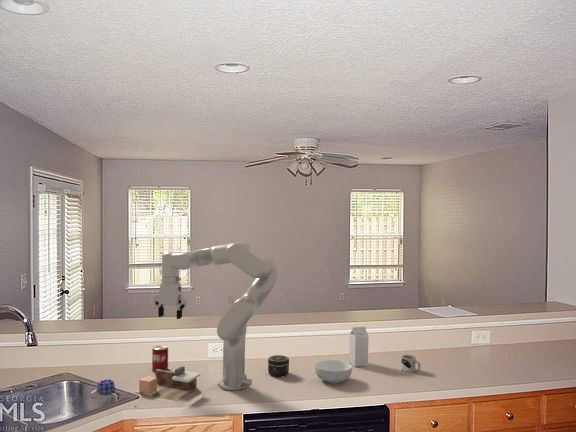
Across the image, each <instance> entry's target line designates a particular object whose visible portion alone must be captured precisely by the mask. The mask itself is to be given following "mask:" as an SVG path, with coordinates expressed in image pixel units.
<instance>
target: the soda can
mask: <svg viewBox="0 0 576 432" xmlns="http://www.w3.org/2000/svg"><path fill="white" fill-rule="evenodd" d="M151 352H152V353H151V371H152V372H154V373H156V370H157V369H160V370H166V371H169V347H168V346H167V345H156V346H153V348H152V350H151Z"/></svg>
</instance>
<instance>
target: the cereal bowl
mask: <svg viewBox="0 0 576 432" xmlns="http://www.w3.org/2000/svg"><path fill="white" fill-rule="evenodd" d="M352 371H353V365H352V364H350V363H349V362H347V361H343V360H337V359H336V360H335V359H326V360H320V361H318V362H316V363H315V364H314V372H315V374H316V376H317V377H318V378H319V379H321V380H323V381H325V382H326V383H328V382H329V383H328V384H339V383H342V382H343V381H346V380H347V379H349V378H350V377H351V375H352V373H353V372H352Z"/></svg>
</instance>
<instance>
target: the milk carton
mask: <svg viewBox="0 0 576 432" xmlns="http://www.w3.org/2000/svg"><path fill="white" fill-rule="evenodd" d="M367 331H368V330H367V329H366V326H354V327H352V329H351V331H350V332H349V344H348V345H349V346H348V349H349V350H348V356H349V357H348V363H349V364H350V363H351V365H352V367H354V366H355V367H354V368H359V367H358V366H361V367H368V366H369V335H368V332H367Z"/></svg>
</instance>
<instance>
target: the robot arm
mask: <svg viewBox="0 0 576 432" xmlns="http://www.w3.org/2000/svg"><path fill="white" fill-rule="evenodd" d="M227 264H232V265H233V266H235V267H236V268H238V269H239V270H240V271H242V272H243V273H245V274H247V276H249V277H251V278H253V279H255V280H254V281H253V282H252V284H251V285H250V286H249V288H248V289H247V290H246V292H245V293H244V294H243V295H242V296H241V297H239V298H238V299H236V300H235V301H234V302H233V303H232V304H231V305H230V306H229V308H228V310H226V312H225V314H224V315H223V316H222V318H221V319H220V320H219V322H218V324H217V326H216V333H217V336H218V338H219V339H220V340H222V341H223V344H222V345H223V346H222V380H220V381H219V383H218V386H219V388H220V389H222V390H225V391H241V390H244V389H246V388H247V387H248V386H252V385H253V380H252V378H248V377H247V374H245V372H246V371H245V370H246V369H245V368H246V367H245V366H246V364H245V363H246V361H245V359H246V356H245V355H246V334H247V327H248V326H247V324H248V322H249V320H251V318H253V317H254V316H255V315H256V314H257V312H258V310H259V309H260V307H261V306H262V305H263V303H264V302H265V301H266V299H267V298H268V296H269V295H270V293H271V292H272V290H273V288H274V287H275V285H276V282H277V280H278V268H277V265H276V263H275V262H274V260H273V259H272V258H271V257H269V256H267V255H266V256H265V255H264V256H263V255H261V256H256V255H255V254H253V253H252V250H251V247H250V245H249V244H248V243H247V242H244V241H238V242H232V243H231V242H230V243H226V244H219V245H215V246H211V247H209V248H203V249H196V250H191V251H185V252H181V253H179V252H177V251H166V252H163V253H162V255H161V282H160V284H159V292H158V294H157V295H155V296H154V297H153V302H154V303H155V305H156V307H157V308H156V309H158V310H157V311H158V312H157V314H158V317H159V318H161V317H163V316H164V315H165V307H164V306H165V305H166V306H173V307H174V306H175V308H176V319H177V320H180V319H182V318H183V310H184V308H185V307H186V305H187V303H188V300H187V299H186V298H185V297H183V289H182V283H181V281H182V278H181V277H180V271H181V270H182V271H183V270H185V271H186V270H189V269H193V268H196V267H201V266H202V267H203V266H209V265H213V266H221V265H227Z"/></svg>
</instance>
